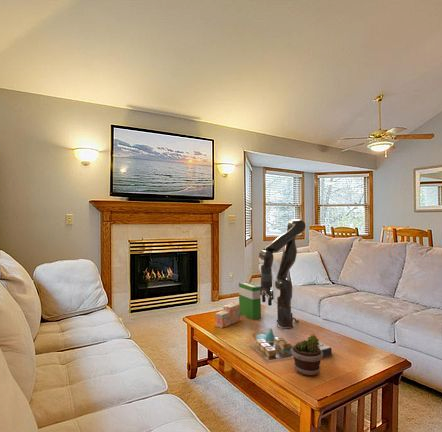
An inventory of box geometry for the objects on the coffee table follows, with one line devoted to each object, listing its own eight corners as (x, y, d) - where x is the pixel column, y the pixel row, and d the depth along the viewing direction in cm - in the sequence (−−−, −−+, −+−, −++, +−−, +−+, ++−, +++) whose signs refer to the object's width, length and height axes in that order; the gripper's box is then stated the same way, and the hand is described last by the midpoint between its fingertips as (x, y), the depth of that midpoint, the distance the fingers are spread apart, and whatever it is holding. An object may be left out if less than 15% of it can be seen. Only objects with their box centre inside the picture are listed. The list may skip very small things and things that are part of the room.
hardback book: (239, 313, 239) (238, 282, 239) (247, 311, 242) (246, 281, 242) (252, 319, 223) (252, 287, 223) (260, 318, 226) (260, 286, 226)
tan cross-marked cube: (272, 351, 168) (271, 346, 168) (276, 355, 164) (276, 349, 164) (264, 352, 167) (264, 347, 167) (268, 356, 163) (268, 350, 163)
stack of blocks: (222, 328, 207) (222, 310, 207) (215, 326, 211) (215, 308, 211) (240, 320, 222) (240, 303, 222) (233, 318, 227) (233, 302, 227)
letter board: (284, 342, 183) (284, 335, 183) (304, 356, 164) (304, 349, 164) (251, 346, 178) (250, 339, 178) (267, 362, 158) (267, 354, 158)
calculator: (310, 338, 179) (331, 346, 165) (311, 345, 179) (332, 354, 165) (296, 341, 174) (317, 350, 161) (296, 349, 174) (317, 358, 161)
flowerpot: (285, 370, 149) (284, 330, 149) (302, 361, 159) (301, 323, 159) (312, 383, 138) (311, 339, 138) (329, 372, 147) (328, 331, 147)
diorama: (264, 332, 200) (263, 319, 201) (284, 343, 182) (284, 329, 182) (248, 335, 196) (248, 322, 196) (268, 347, 177) (267, 332, 177)
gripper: (276, 281, 199) (277, 306, 199) (266, 277, 212) (266, 300, 212) (266, 282, 197) (266, 307, 197) (256, 278, 211) (257, 301, 211)
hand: (266, 303), depth 205 cm, fingers open, 8 cm apart
